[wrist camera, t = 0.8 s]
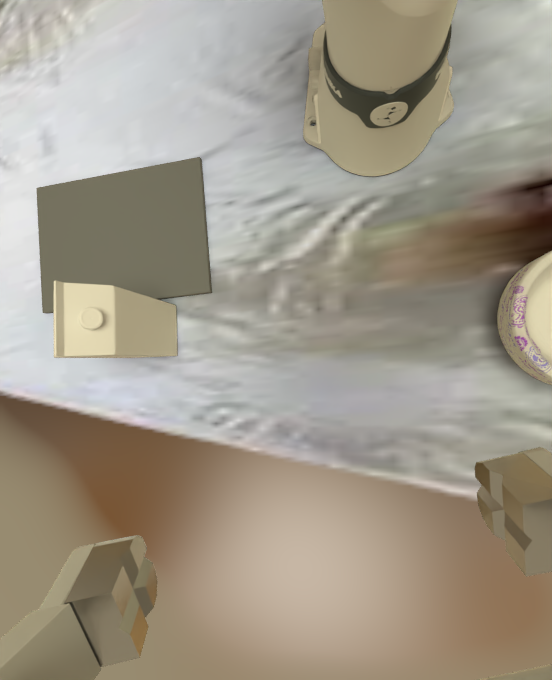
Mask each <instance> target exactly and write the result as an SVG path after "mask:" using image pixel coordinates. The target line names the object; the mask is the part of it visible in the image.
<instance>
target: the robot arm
mask: <svg viewBox="0 0 552 680" xmlns="http://www.w3.org/2000/svg"><path fill="white" fill-rule="evenodd" d="M457 2H458V0H322V4H323V10H324V17H325V23H324V24H322V25H321V26H320V27H319V28H318V29H317V30H316V31H315V32H314V35H313V43H312V47H311V48H309V55H308V62H309V70H310V71H309V81H308V90H307V100H306V110H305V119H304V129H303V137H304V140H305V141H306V142H307V143H308V144H310V145H312V146H314V147H317V148H319V149H322V150H323V151H324V152H325V153H326V154H327V155H328V156H329V157H330V158H331V159H332V160H333V161H334V162H335V163H336V164H337V165H338V166H340V167H341V168H343V169H345V170H347V171H349V172H351V173H354V174H357V175H362V176H380V175H386V174H389V173H392V172H395V171H397V170H400V169H402V168H403V167H405V166H407V165H408V164H409V163H411V162H412V161H413V160H414V159H415V158H416V157H417V156H418V155H419V154H420V153H421V152H422V151H423V149H424V148H425V146H426V145H427V143H428V141H429V139H430V137H431V136H432V134H433V132H434V131H435V129H436V128H438V127H439V126H440V125H441V124H442V123H444V122H445V121H446V120H447V119H448V118H449V117H450V116H451V114H452V112H453V108H454V102H453V99H452V96H451V93H450V90H449V85H450V81H451V77H452V67H451V66H449V63H448V60H447V55H448V50H449V45H450V38H451V21H452V18H453V15H454V12H455V8H456V5H457ZM312 123H316V125H315V126H311V124H312ZM475 477H476V478H477V480H478V481H479V482H480V483H481V484H482V485H481V487H480V489H479V490H478V492H477V499H478V506H479V509H480V512H481V514H482V517H483V519H484V521H485V523H486V524H487V526H488V528H489V529H490V530H491V532H492V533H493V534H494V535H495V536H497V537H499V538H501V539H503V540H505V542H506V551H507V553H508V554H509V555H510V557H511V558H512V559H513V560H514V561H515V563H516V564H517V566H518V567H519V568H520V569H521V571H522V572H523V573H524V575H525V576H531V575H537V574H542V573H547V572H552V453H550V452H549V451H548V450H546V449H544V448H541V447H538V448H534V449H530V450H526V451H522V452H518V453H516V454H512V455H507V456H502V457H498V458H493V459H489V460H484V461H480V462H476V465H475ZM146 549H147V547H146V545H145V543H144V541H143V538H142V537H140V536H138V535H137V536H131V537H126V538H121V539H116V540H111V541H106V542H100V543H97V544H91V545H86V546H82V547H78V548H76V549H75V550H73V551H72V553H71V554H70V556H69V558H68V560H67V561H66V563H65V565H64V566H63V568H62V570H61V572H60V573H59V575H58V577H57V579H56V580H55V582H54V584H53V586H52V587H51V589H50V591H49V593H48V594H47V596H46V598H45V600H44V601H43V603H42V605H41V606H40V608H39V610H35V611H31V612H30V613H29V614H28V615H27V616H26V617H24V618H23V619H22V620H21V621H20V622H19V623H18V624H17V625H15V626H14V627H13V628H12V629H11V630H10V631H8V632H7V633H6V634H5V635H4V636H3V637H1V638H0V680H94V679H95V678H96V676H97V675H98V674H99V672H100V671H101V667H104V666H108V665H112V664H116V663H120V662H124V661H128V660H133V659H137V658H140V656H141V652H142V648H143V645H144V641H145V637H146V634H147V630H148V624H147V622H146V619H145V617H146V616H147V615H148V614H149V613H150V611H151V610H152V609H153V608H154V605H155V601H156V596H157V576H156V571H155V568H154V565H153V563H152V562H150V561H149V560H148V559H146V558H145V557H144V555H145V552H146ZM478 680H552V664H550V665H546V666H541V667H536V668H531V669H527V670H521V671H517V672H512V673H507V674H502V675H497V676H492V677H488V678H483V679H478Z"/></svg>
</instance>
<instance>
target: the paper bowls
mask: <svg viewBox="0 0 552 680" xmlns="http://www.w3.org/2000/svg"><path fill="white" fill-rule="evenodd" d="M497 319H498V320H497V324H498V330H499V335H500V337H501V341H502V343H503V345H504V347H505V349H506V351H507V352H508V354H509V355H510V356H511V357H512V359H513V360H514V361H515V363H516V364H517V365H518V366H519V367H520V368H521V369H523V370H524V371H525V372H527V373H528V374H529V375H531V376H532V377H534V378H536V379H538V380H540V381H542V382H545V383H548V384H550V385H552V251H551V252H549V253H547V254H545V255H543V256H541V257H539V258H538V259H536V260H534V261H532V262H531V263H529V264H528V265H526V266H525V267H523V268H522V269H520V270H519V271H518V272H517V273H516V274H515V275H514V276H513V277H512V279H511V280H510V281H509V283H508V284H507V286H506V288H505V290H504V292H503V294H502V296H501V299H500V303H499V309H498V313H497Z"/></svg>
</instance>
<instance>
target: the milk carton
mask: <svg viewBox="0 0 552 680" xmlns="http://www.w3.org/2000/svg"><path fill="white" fill-rule="evenodd" d="M53 298H54V358H140V357H162V356H177V318H176V305H174V304H170V303H167V302H164V301H161V300H158V299H154V298H151V297H148V296H145V295H142V294H138V293H135V292H132V291H129V290H125V289H122V288H119V287H116V286H113V285H97V284H80V283H63V282H60V281H54V292H53Z"/></svg>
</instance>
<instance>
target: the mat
mask: <svg viewBox="0 0 552 680" xmlns="http://www.w3.org/2000/svg"><path fill="white" fill-rule="evenodd" d="M37 206H38V226H39V246H40V267H41V287H42V307H43V313H54V298H53V292H54V281H60V282H63V283H80V284H97V285H113V286H116V287H119V288H122V289H125V290H129V291H132V292H135V293H138V294H142V295H145V296H148V297H151V298H154V299H166V298H174V297H182V296H190V295H198V294H206V293H212V287H211V274H210V261H209V248H208V236H207V223H206V210H205V197H204V184H203V171H202V160H201V158H200V157H197V158H192V159H187V160H181V161H176V162H171V163H166V164H160V165H155V166H150V167H145V168H139V169H134V170H129V171H124V172H118V173H113V174H108V175H103V176H97V177H92V178H87V179H82V180H76V181H71V182H66V183H60V184H55V185H50V186H45V187H39V188H37Z"/></svg>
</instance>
